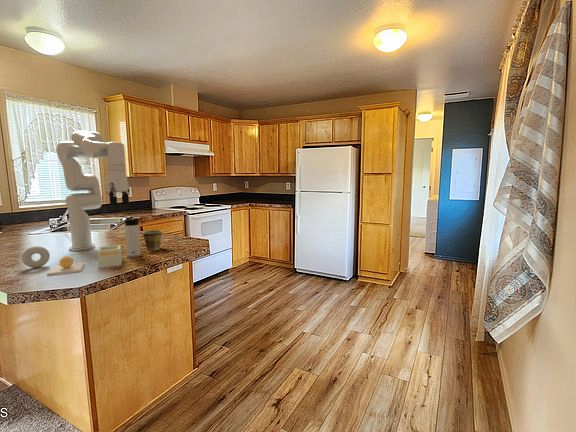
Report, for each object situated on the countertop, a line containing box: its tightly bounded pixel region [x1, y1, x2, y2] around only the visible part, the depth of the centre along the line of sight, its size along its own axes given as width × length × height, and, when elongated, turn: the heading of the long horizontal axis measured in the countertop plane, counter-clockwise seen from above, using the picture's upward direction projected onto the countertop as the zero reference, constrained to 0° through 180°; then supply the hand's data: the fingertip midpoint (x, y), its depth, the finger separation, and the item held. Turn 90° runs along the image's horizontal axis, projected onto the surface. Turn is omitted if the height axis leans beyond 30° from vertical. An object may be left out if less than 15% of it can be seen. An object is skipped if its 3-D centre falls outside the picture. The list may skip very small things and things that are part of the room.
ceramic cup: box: [142, 229, 163, 251], centre depth 177 cm, size 13×10×10 cm
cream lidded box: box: [96, 244, 123, 269], centre depth 146 cm, size 9×9×8 cm
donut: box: [21, 245, 51, 269], centre depth 141 cm, size 10×4×10 cm, turn 132°
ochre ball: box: [58, 256, 74, 268], centre depth 138 cm, size 5×5×5 cm
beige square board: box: [46, 262, 86, 276], centre depth 138 cm, size 12×12×1 cm
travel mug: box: [124, 217, 142, 259], centre depth 159 cm, size 6×7×20 cm
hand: (119, 204), depth 151 cm, fingers open, 9 cm apart
